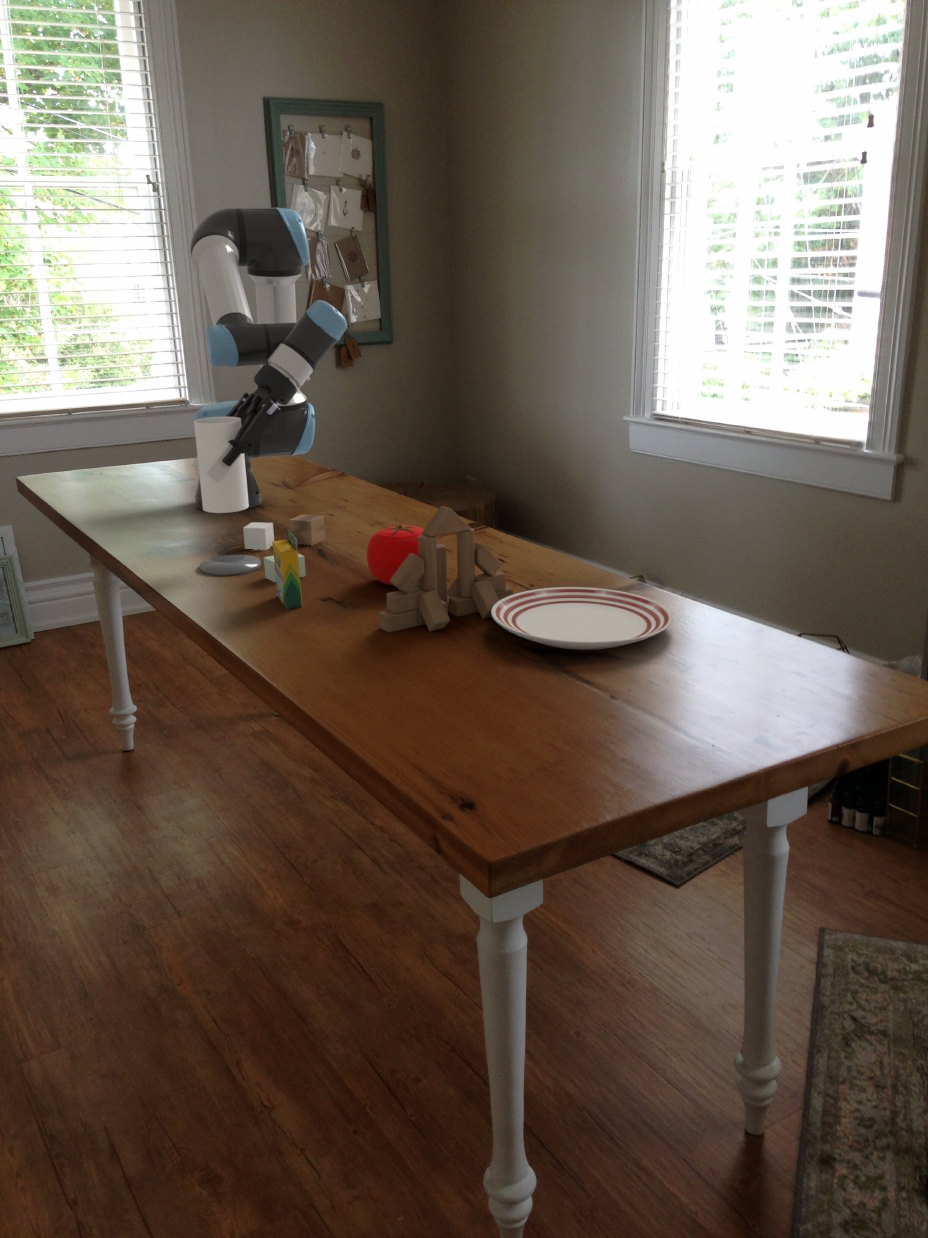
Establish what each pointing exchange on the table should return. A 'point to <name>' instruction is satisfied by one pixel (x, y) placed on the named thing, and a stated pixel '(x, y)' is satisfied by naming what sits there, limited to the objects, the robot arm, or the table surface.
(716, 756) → the table surface
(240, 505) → the cup
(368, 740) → the table surface
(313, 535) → the walnut block
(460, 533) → the wooden blocks
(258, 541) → the off-white plastic block
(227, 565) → the coaster
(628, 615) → the dinner plate
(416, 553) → the tomato
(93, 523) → the table surface
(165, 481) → the table surface
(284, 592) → the crayon box
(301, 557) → the sage painted block
